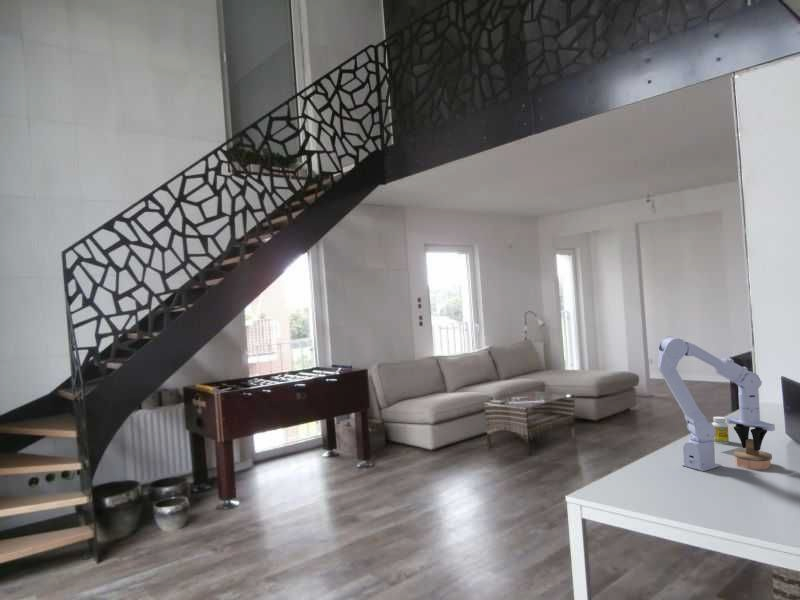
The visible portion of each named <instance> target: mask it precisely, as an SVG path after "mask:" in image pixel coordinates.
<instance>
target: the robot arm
mask: <svg viewBox="0 0 800 600" xmlns="http://www.w3.org/2000/svg"><path fill="white" fill-rule="evenodd" d="M657 351H658V356H657V368H658V371H659V373H660V374H661V376H662V377H663V380H664V381H665V383H666V384H667V386H668V388H669V390H670V391H671V393H672V395H673V397H674V398H675V400H676V402H677V404H678V406H679V407H680V409H681V411H682V413H683V415H684V419H685V421H686V428H687V430H688V431H689V432H690V434H689V439H688V441H687V442H685V443H684V445H683V448H682V449H683V450H682V451H683V463H681V466H684V467H687V468H691V469H694V470H698V471H700V472H701V471H702V472H705V471H708V470H712V469H715V468H719V467H721V466H722V464H720V463H717V462H716V453H715V452H716V451H715V443H714V437H715V435H716V429H715V427H714V425H712V423H711V422H710V421H709V420H708V419H707V417H706V416H705V415H704V414H703V412H702V411H701V410H700V408H699V406H698V404H697V402H695V399H694V397H693V396H692V394H691V392H690V391H689V389H688V387H687V385H686V384H685V382H684V381H683V379H682V377H681V375H680V374H679V371H678V369H677V366H678V364H679V362H680V361H681V360H682V359H683V357H684V356H686V357H694V358H697V359H698V360H699V361H702V362H704V363H706V364H707V365H709V366H711V367H713V368H714V371H715V373H716V374H718V375H720V376H722V377H723V378H725V379H726V380H729V381H730V382H733V383H735V385H736V386H737V389H738V408H739V409H738V413H739V417H733V416H729V417H726V422H727V425H728V424H730V425H735V426H733V430H734V432H736V435H737V436H738V439H739V440H740V443H741V446H742V447H741V448H746V440H747V439H750V437H749V435H750V433H751V436H752V439H753V443H754V450H755V451H758V450H759V451H761V447H762V443H763V440H764V438H765V436H766V434H767V433H768V432H774V431H776V426H775V424H774V423H771V422H770V423H769V422H766V421H762V420H761V413H760V412H761V411H760V410H761V409H760V394H759V392H760V391H759V389H760V388H761V386H762V385H763V381H762V380H761V377H759V375H758V374H757V373H756V372H753V371H749V370H748V367H746V366H741V365H739V364H738V363H736V362H735V360H734V359H733V358H726V357H724V358H719V357H717V356H715V355H713V354H712V353H710V352H708V351H707V350H704V349H703V348H701V347H699V346H698V345H696V344H695V343H691V342H689V341H686V340H684V339H681V338H676V337H673V336H666V337H664V338H662V340H661V341H660V343H659V345H658V346H657Z"/></svg>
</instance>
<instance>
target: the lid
mask: <svg viewBox="0 0 800 600" xmlns="http://www.w3.org/2000/svg"><path fill="white" fill-rule="evenodd" d="M734 456H735V457H737V458H740V459H744V460H749V461H768V460H770V461H771V460H772V459H773V455H772V453H769V452H767V451H762V450H758V451H755V450H754V443H753V438H749V439H747V440H746V450H737V451H735V452H734V455H733V457H734Z"/></svg>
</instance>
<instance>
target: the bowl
mask: <svg viewBox="0 0 800 600" xmlns="http://www.w3.org/2000/svg"><path fill="white" fill-rule="evenodd" d="M733 457H734V458H733V459H734V464H735V465H736V466H737V467H740V468H743V469H746V470H747V469H748V470H755V471H756V470H758V471H759V470H760V471H761V470H768V469H770V468H771V466H772V465H771V460H768V461H749V460H744V459H740V458H737V457H735V456H734V455H733Z"/></svg>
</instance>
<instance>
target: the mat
mask: <svg viewBox="0 0 800 600" xmlns="http://www.w3.org/2000/svg"><path fill="white" fill-rule="evenodd" d="M737 450H746V448H743V447H740V446H739V447H735V448H732V449H729V450H725V451H721V452H720V453H721V454H727V455H729V456H734V452H735V451H737Z"/></svg>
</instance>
